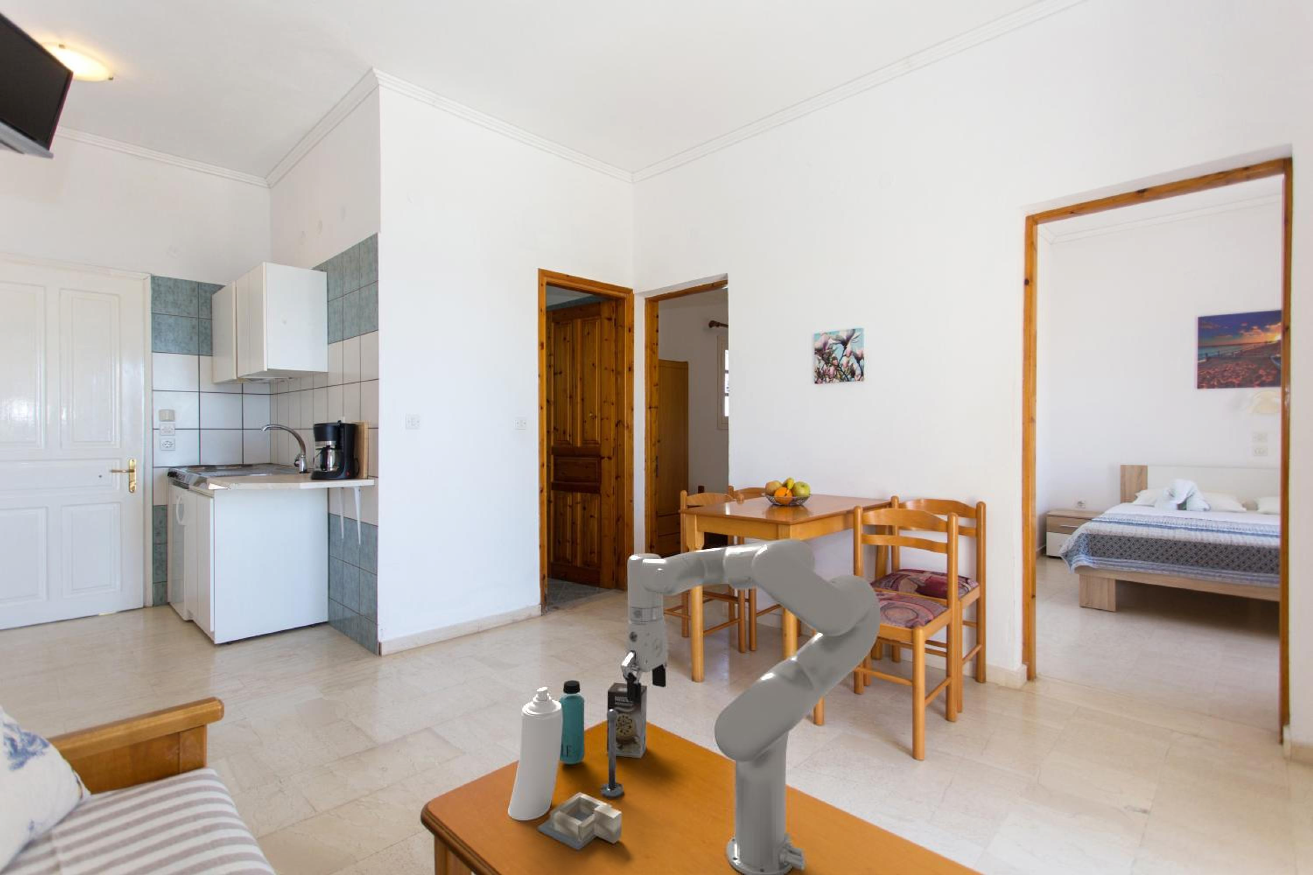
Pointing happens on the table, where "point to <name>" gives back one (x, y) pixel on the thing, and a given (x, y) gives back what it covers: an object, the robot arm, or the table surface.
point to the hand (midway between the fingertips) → (647, 693)
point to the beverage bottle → (572, 724)
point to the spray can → (537, 757)
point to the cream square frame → (599, 823)
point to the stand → (612, 760)
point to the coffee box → (628, 721)
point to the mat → (563, 837)
